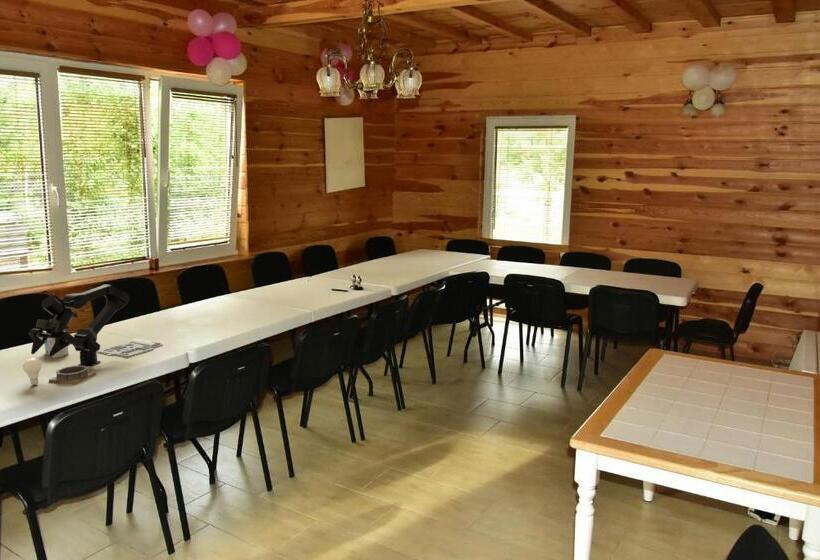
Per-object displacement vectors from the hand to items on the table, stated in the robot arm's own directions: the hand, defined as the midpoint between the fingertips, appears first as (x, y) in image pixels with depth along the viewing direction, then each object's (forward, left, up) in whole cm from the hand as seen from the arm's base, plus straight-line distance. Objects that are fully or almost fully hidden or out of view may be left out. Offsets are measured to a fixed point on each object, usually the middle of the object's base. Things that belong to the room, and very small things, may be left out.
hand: (40, 354), depth 254 cm
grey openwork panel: (-47, +7, -12) cm, 49 cm away
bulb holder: (-6, +9, -11) cm, 15 cm away
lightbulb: (+4, 0, -11) cm, 12 cm away
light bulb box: (-33, -22, -11) cm, 41 cm away
